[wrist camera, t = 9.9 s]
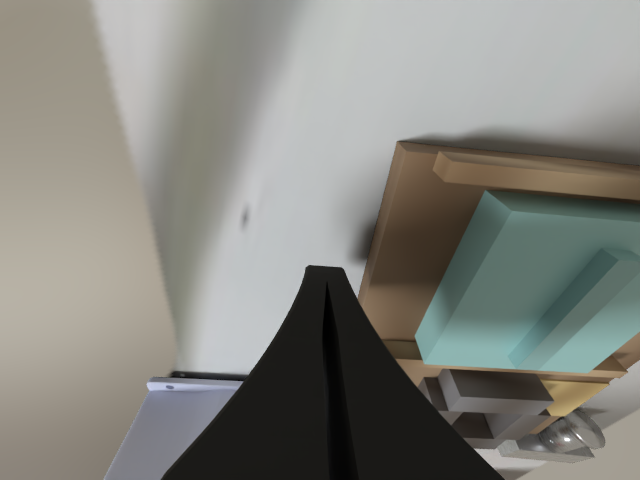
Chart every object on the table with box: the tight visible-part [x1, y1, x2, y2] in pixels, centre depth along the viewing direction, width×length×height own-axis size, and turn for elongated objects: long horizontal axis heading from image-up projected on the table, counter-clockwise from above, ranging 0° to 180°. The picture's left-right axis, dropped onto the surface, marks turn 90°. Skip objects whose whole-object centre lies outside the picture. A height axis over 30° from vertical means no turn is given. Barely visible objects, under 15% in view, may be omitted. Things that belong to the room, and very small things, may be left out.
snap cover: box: [415, 190, 640, 373], centre depth 10 cm, size 8×8×2 cm
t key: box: [497, 409, 605, 463], centre depth 21 cm, size 7×2×6 cm
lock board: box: [358, 141, 640, 449], centre depth 14 cm, size 16×20×3 cm
